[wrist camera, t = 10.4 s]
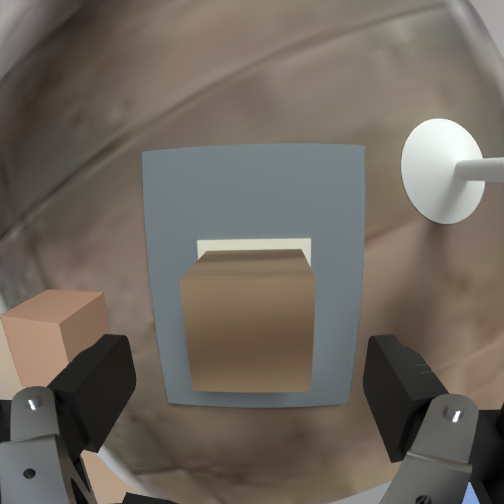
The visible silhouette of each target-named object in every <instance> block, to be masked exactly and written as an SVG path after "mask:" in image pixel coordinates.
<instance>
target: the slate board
mask: <svg viewBox="0 0 504 504" xmlns="http://www.w3.org/2000/svg"><path fill="white" fill-rule="evenodd" d="M142 173H143V199H144V218H145V233H146V246H147V257H148V268H149V278H150V287H151V296H152V304H153V312H154V320H155V327H156V334H157V341H158V347H159V353H160V360H161V366H162V371H163V377H164V382H165V388H166V393H167V398H168V403H175V404H186V405H200V406H217V407H249V408H279V407H310V406H327V405H341V404H348V402H349V396H350V390H351V383H352V376H353V369H354V361H355V353H356V345H357V336H358V327H359V317H360V305H361V293H362V279H363V261H364V238H365V151H364V145H346V144H306V143H279V144H238V145H217V146H201V147H187V148H175V149H164V150H154V151H145V152H142ZM267 249H302V251H303V253H304V255H305V257H306V259H307V261H308V263H309V265H310V267H311V269H312V271H313V274H314V276H315V278H316V290H315V320H314V342H313V361H312V377H311V391H303V392H212V391H193V388H192V381H191V374H190V367H189V360H188V352H187V344H186V336H185V327H184V318H183V309H182V299H181V289H180V279H181V278H182V277H183V276H184V275H185V274H186V273H187V272H188V270H189V269H190V268H191V267H192V266H193V265H194V264H195V263H196V262H197V261H198V260H199V258H200V257H201V256H202V255H203V254H204V253H205V252H206V251H217V250H267Z"/></svg>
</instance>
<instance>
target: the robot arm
mask: <svg viewBox="0 0 504 504" xmlns="http://www.w3.org/2000/svg"><path fill="white" fill-rule="evenodd" d="M135 386H136V373H135V368H134V364H133V359H132V354H131V350H130V345H129V341H128V338H127V337H126V336H125V335H114V334H104V335H103V336H102V337H101V338H100V339H99V340H98V341H97V342H96V343H95V344H94V345H93V346H91V347H89V348H87V349H85V350H83V351H81V352H80V353H79V354H78V355H77V356H76V357H75V358H74V359H73V360H72V362H70V363H69V364H68V365H67V366H66V368H64V369H63V370H62V371H61V372H60V373H59V374H58V375H57V376H56V377H55V378H54V379H53V380H52V381H51V382H50V383H49V384H48V385H47V387H43V386H32V387H28V388H25V389H23V390H21V391H19V392H18V393H17V394H16V395H15V396H14V397H13V399H12V400H0V504H1V503H2V504H98V503H97V501H96V498H95V496H94V493H93V490H92V487H91V484H90V481H89V478H88V475H87V472H86V468H85V465H84V462H83V459H82V457H81V455H80V454H81V452H82V451H83V450H87V451H91V452H95V453H98V452H99V450H100V448H101V446H102V445H103V443H104V441H105V439H106V438H107V436H108V434H109V433H110V431H111V429H112V427H113V426H114V424H115V422H116V421H117V419H118V417H119V415H120V414H121V412H122V410H123V409H124V407H125V405H126V404H127V402H128V400H129V399H130V397H131V395H132V394H133V392H134V390H135ZM363 388H364V393H365V396H366V399H367V401H368V403H369V406H370V409H371V411H372V414H373V416H374V419H375V421H376V424H377V426H378V429H379V431H380V434H381V437H382V439H383V442H384V445H385V447H386V450H387V452H388V455H389V458H390V461H391V463H393V462H398V461H403V462H402V464H401V466H400V468H399V469H398V471H397V473H396V475H395V477H394V479H393V481H392V482H391V484H390V486H389V488H388V489H387V491H386V493H385V495H384V496H383V498H382V500H381V501H380V503H379V504H462V502H463V499H464V496H465V493H466V489H467V486H468V483H469V482H471V485H472V487H473V489H474V491H475V494H476V496H477V498H478V500H479V503H480V504H504V403H503V405H502V407H501V409H500V410H478V407H477V405H476V404H475V403H474V402H473V401H472V400H471V399H469V398H467V397H465V396H463V395H459V394H449V393H448V391H447V390H446V388H445V387H444V386H443V384H442V383H441V382H440V380H439V379H438V378H437V376H436V375H435V374H434V373H433V372H432V371H431V369H430V367H429V366H428V365H426V362H425V361H424V359H423V358H422V357H421V356H420V354H418V353H417V352H415V351H413V350H412V349H410V348H408V347H405V348H403V347H402V345H401V344H400V343H399V341H398V340H397V339H396V337H395V336H394V335H393V334H390V335H378V336H371V337H370V339H369V342H368V349H367V356H366V363H365V369H364V376H363ZM115 504H178V503H175V502H172V501H170V500H163V499H158V498H152V497H147V496H142V495H137V494H132V493H128V492H127V493H126V495H125V497H124V500H123V502H122V503H115Z"/></svg>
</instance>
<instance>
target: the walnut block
mask: <svg viewBox="0 0 504 504" xmlns="http://www.w3.org/2000/svg"><path fill="white" fill-rule="evenodd" d="M180 289H181V299H182V309H183V318H184V327H185V336H186V344H187V352H188V360H189V367H190V374H191V381H192V388H193V391H212V392H303V391H311V377H312V361H313V342H314V320H315V290H316V278H315V276H314V274H313V271H312V269H311V267H310V265H309V263H308V261H307V259H306V257H305V255H304V253H303V251H302V249H267V250H217V251H206V252H205V253H204V254H203V255H202V256H201V257H200V258H199V260H198V261H197V262H196V263H195V264H194V265H193V266H192V267H191V268H190V269H189V270H188V272H187V273H186V274H185V275H184V276H183V277H182V278H181V279H180Z"/></svg>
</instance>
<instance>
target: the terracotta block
mask: <svg viewBox="0 0 504 504" xmlns="http://www.w3.org/2000/svg"><path fill="white" fill-rule="evenodd" d="M0 316H1V320H2V324H3V327H4V331H5V334H6V338H7V342H8V345H9V348H10V352H11V355H12V358H13V361H14V364H15V367H16V370H17V373H18V376H19V378H20V381H21V384H22V386H25V387H32V386H43V387H47V385H48V384H49V383H50V382H51V381H52V380H53V379H54V378H55V377H56V376H57V375H58V374H59V373H60V372H61V371H62V370H63V369H64V368H66V366H67V365H68V364H69V363H70V362H72V360H73V359H74V358H75V357H76V356H77V355H78V354H79V353H80V352H81V351H83V350H85V349H87V348H89V347H91V346H93V345H94V344H95V343H96V342H97V341H98V340H99V339H100V338H101V337H102V336H103V335H104V334H110V328H109V323H108V317H107V311H106V305H105V299H104V292H86V291H68V290H51V289H47V290H46V291H44V292H42V293H40V294H38V295H36V296H34V297H33V298H31V299H29V300H27V301H25V302H23V303H22V304H20V305H18V306H16V307H14V308H13V309H11V310H9V311H7V312H5V313H4V314H2V315H0Z"/></svg>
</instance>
